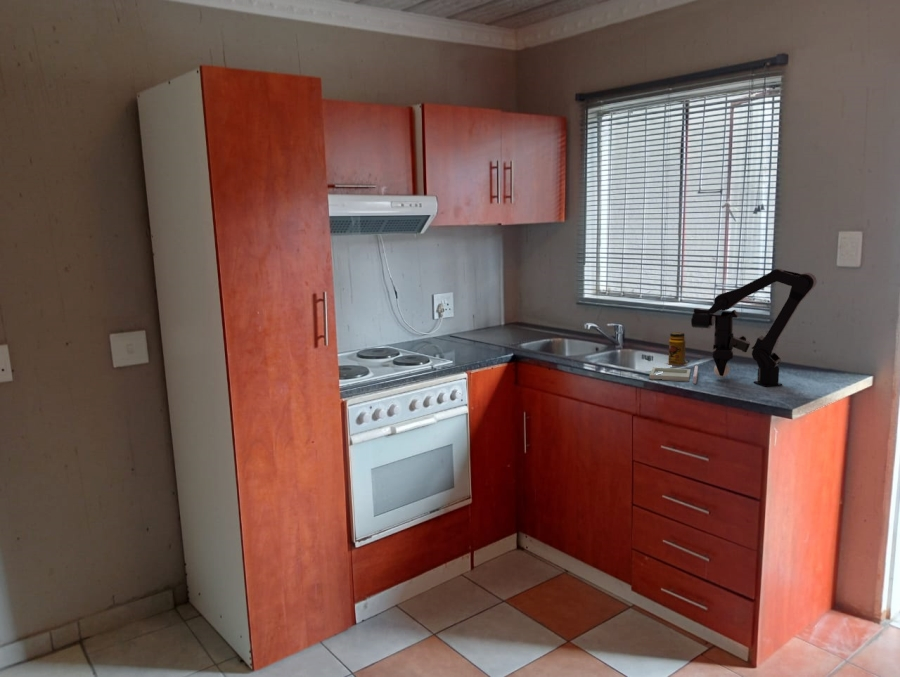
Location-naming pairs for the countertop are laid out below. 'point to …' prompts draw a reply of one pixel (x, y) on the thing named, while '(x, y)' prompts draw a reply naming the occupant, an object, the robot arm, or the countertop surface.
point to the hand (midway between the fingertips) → (721, 374)
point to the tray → (671, 374)
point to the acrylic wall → (695, 374)
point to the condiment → (677, 349)
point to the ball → (724, 371)
